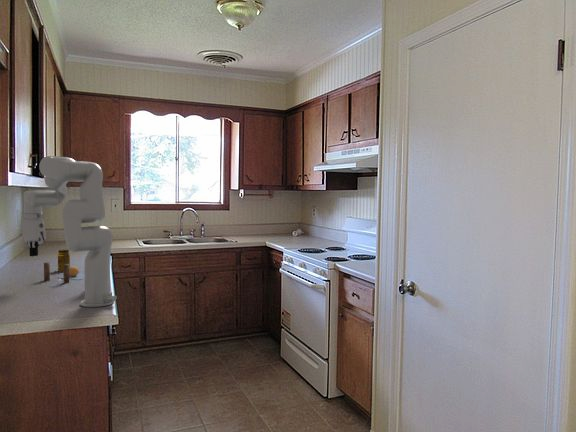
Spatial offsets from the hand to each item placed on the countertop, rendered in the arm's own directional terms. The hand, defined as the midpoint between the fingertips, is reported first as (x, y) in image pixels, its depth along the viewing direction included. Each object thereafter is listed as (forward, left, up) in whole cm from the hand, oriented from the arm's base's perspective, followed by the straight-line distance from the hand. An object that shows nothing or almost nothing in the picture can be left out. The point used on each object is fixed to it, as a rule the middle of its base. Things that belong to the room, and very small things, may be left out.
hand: (33, 255), depth 208 cm
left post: (+6, -13, -15) cm, 21 cm away
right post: (-6, -13, -15) cm, 21 cm away
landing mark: (0, -27, -15) cm, 31 cm away
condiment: (+20, -38, -15) cm, 46 cm away
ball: (+2, -26, -12) cm, 28 cm away
